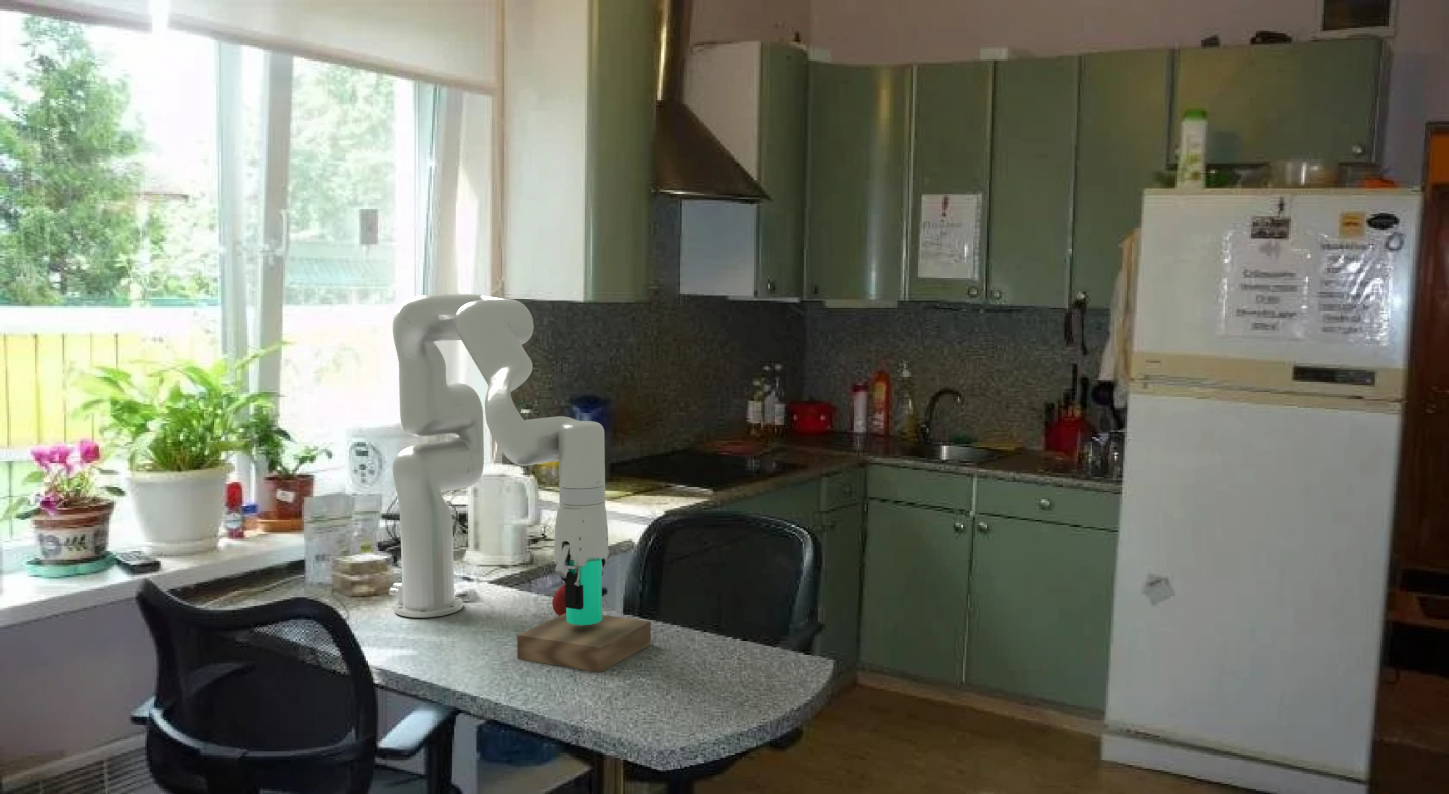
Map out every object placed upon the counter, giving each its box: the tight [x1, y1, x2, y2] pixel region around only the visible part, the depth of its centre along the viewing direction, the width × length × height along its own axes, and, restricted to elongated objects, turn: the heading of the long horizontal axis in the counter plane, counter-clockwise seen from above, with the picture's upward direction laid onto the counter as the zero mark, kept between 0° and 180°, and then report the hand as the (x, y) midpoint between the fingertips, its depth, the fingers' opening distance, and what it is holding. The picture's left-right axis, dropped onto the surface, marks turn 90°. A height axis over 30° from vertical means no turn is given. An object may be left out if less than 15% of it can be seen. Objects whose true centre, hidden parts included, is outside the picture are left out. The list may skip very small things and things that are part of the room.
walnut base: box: [516, 613, 652, 673], centre depth 194 cm, size 16×16×4 cm
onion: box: [551, 584, 566, 617], centre depth 210 cm, size 6×6×8 cm
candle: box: [566, 558, 603, 625], centre depth 193 cm, size 6×6×12 cm
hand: (583, 602), depth 193 cm, fingers closed on candle, 4 cm apart
